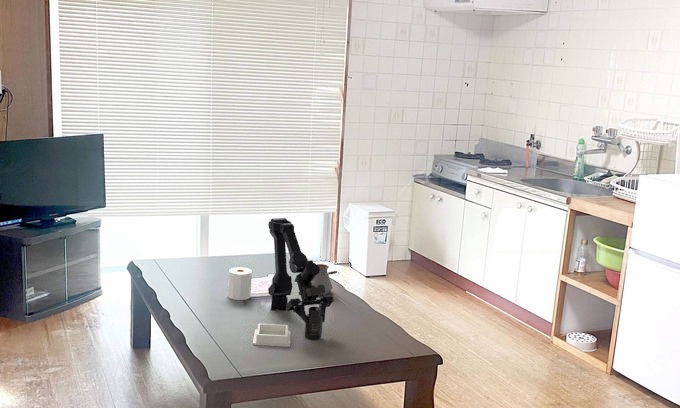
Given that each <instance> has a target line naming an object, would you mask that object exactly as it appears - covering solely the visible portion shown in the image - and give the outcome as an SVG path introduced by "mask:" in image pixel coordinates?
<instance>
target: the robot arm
mask: <svg viewBox="0 0 680 408" xmlns="http://www.w3.org/2000/svg"><path fill="white" fill-rule="evenodd" d="M268 229H269V234H270V235H271V237H272V239H273V245H274V246H273V247H274V248H273V249H274V265H275V268H274V270H275V273H274V275H273V277H272V278H271V279H272V280H271V285H270V286H269V287H268V289H267V291H268V295H269V296H271V303H270V304H271V305H270V310H271V311H282V312H284V311H285V312H286V311H287V312H292V313H295V314H297V315H298V317H299V318H300V319H302V321H303V322H304V324H305V323H306V324H308V319H307V316H306V315H307V313H306V309H305V308H306V306H315V305H318V307H319V308H321V315H322V316H323V323H325V322H326V320H325V319H326V310H327V308H328V307H330V306H331V305H332V304H333V303H334V302H335V299H334V297H333V295H331V294H329V295H328V294H326V295H322V293H324V292H325V287H324V285H318V287H315V286H313V285H312V282H311V281H313V280H314V279H315V277H316V276H317V275H318V274H319V272H320V268H319V267H318V265H317V264H318V263H317V264H316V262H314V261H313V259H312V260H309V259H308V257H307V255H306V254H305V253H303V252H302V249H301V248H300V245H299V244H300V243H299V241H298V238H297V235H296V233H295V232H296V231H295V226H294V224H293V223H292V221H290V220H287V218H286V217H280V218H278V217H277V218H276V217H274V218H270V220H269V222H268ZM286 248H287V249H286ZM286 250H288V254H289V259H288V265H289V269H290V273H293V274H297V275H295V276H296V277H295V278H294V282H295V283H296V284H297V287H298V291H299V292H298V295H299V296H300V298H301V299H300V298H290V299H289V297H288V296H291V294H292V289H293V287H294V286H293V282H292V281H293V280H292V276H291V275H290V274H289V272H288V267H287V251H286ZM320 296H322V297H321V298H319V297H320ZM318 298H319V299H318ZM288 299H289V300H288Z"/></svg>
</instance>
